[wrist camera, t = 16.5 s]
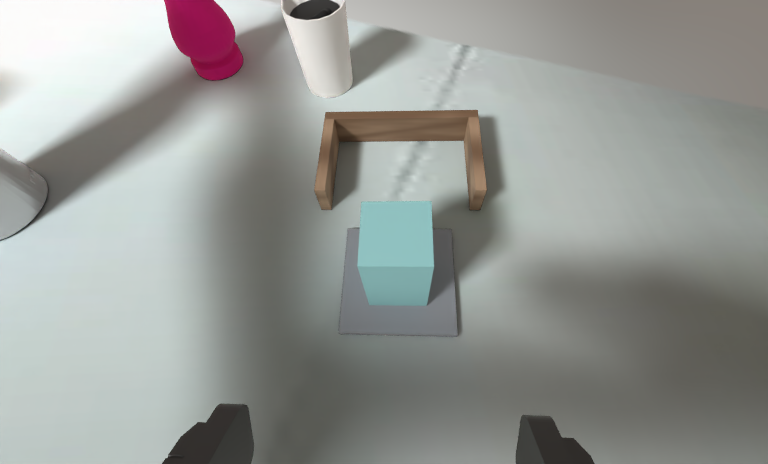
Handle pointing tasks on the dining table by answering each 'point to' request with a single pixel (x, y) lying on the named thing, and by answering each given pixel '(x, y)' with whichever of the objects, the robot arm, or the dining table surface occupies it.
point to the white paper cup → (321, 44)
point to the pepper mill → (204, 37)
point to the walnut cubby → (401, 129)
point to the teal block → (396, 252)
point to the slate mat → (401, 319)
